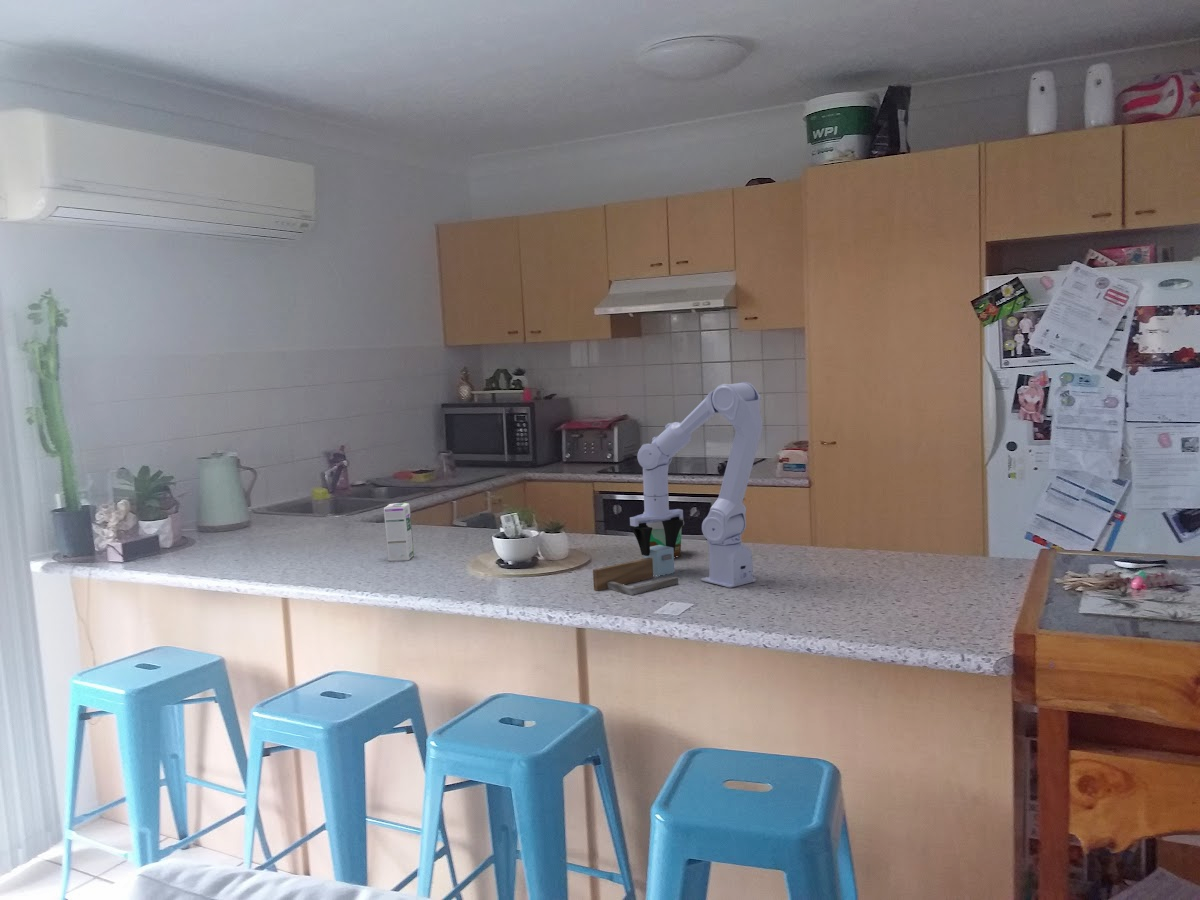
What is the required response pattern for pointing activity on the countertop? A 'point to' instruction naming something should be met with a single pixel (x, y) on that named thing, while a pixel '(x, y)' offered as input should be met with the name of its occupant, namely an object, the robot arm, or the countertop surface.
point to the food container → (663, 536)
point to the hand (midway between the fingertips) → (658, 552)
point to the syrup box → (398, 532)
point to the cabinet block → (662, 559)
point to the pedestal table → (629, 577)
